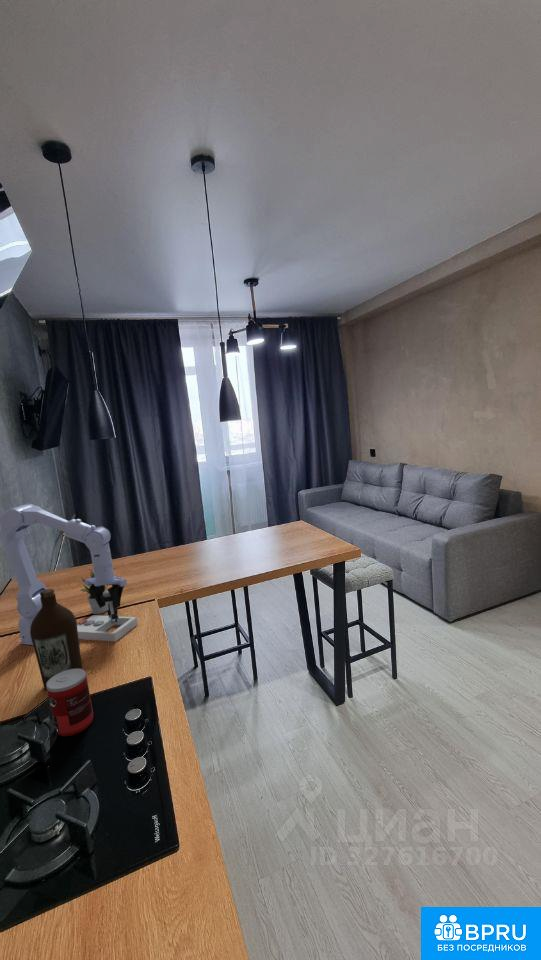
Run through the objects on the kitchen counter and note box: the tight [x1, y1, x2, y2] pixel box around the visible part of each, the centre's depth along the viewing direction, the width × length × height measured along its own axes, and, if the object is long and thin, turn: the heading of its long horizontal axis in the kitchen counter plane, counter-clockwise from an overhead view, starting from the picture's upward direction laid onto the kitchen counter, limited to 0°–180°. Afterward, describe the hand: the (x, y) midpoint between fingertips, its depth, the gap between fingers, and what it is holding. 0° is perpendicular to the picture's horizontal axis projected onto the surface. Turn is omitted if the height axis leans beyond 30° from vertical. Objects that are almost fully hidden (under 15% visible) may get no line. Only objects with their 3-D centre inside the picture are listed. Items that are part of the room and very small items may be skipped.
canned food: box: [46, 668, 94, 737], centre depth 92 cm, size 8×8×11 cm
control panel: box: [77, 614, 138, 642], centre depth 137 cm, size 18×11×3 cm, turn 71°
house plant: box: [76, 567, 116, 615], centre depth 153 cm, size 14×14×16 cm
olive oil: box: [30, 588, 84, 692], centre depth 108 cm, size 11×11×25 cm
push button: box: [100, 589, 120, 624], centre depth 135 cm, size 7×5×10 cm
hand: (109, 606), depth 135 cm, fingers closed on push button, 5 cm apart
